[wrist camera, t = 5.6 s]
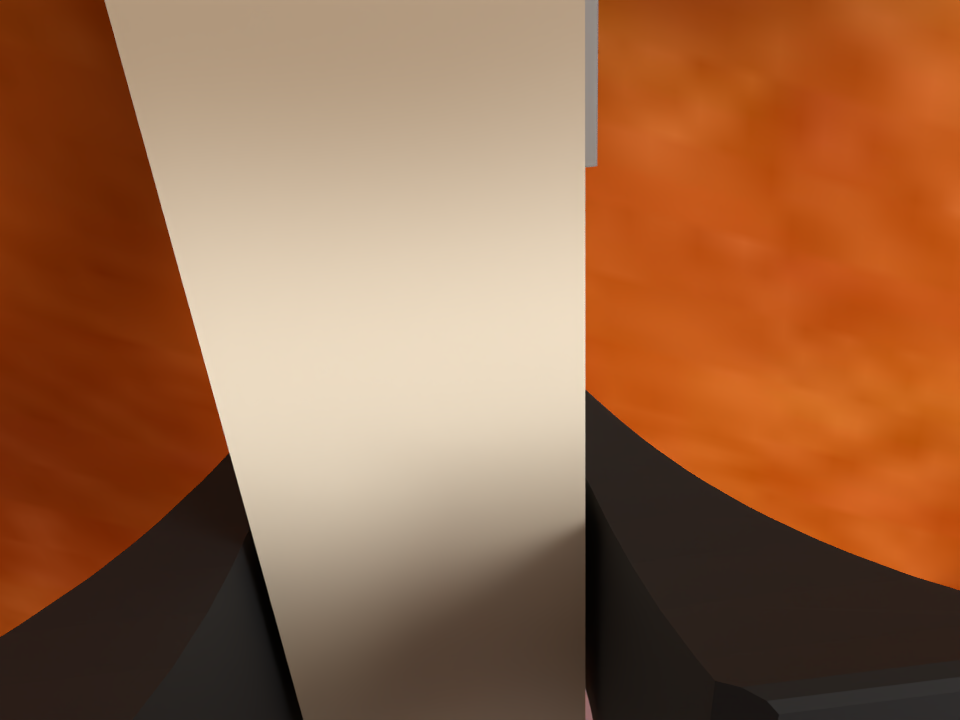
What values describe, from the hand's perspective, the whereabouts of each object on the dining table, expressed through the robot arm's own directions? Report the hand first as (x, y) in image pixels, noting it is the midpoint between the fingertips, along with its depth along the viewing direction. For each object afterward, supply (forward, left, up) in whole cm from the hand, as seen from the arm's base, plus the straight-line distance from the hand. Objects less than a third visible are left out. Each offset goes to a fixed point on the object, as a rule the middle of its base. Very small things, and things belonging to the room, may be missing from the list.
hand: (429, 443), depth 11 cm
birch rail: (0, 0, -2) cm, 2 cm away
